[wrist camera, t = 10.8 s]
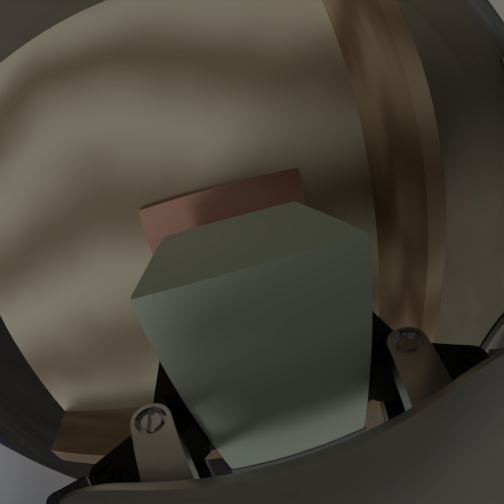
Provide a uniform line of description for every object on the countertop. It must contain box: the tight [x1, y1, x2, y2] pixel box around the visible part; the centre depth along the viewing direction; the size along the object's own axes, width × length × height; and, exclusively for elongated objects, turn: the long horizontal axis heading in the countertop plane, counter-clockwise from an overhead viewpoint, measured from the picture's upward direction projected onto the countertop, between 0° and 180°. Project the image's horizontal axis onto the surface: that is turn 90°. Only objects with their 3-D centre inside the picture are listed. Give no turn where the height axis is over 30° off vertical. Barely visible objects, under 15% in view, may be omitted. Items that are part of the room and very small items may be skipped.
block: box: [130, 201, 372, 473], centre depth 9 cm, size 5×9×5 cm, turn 13°
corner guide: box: [0, 0, 446, 464], centre depth 10 cm, size 24×24×5 cm
